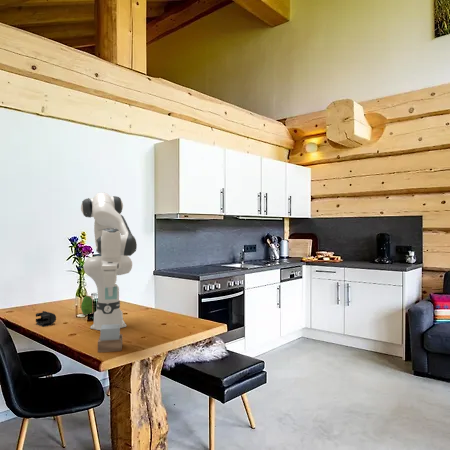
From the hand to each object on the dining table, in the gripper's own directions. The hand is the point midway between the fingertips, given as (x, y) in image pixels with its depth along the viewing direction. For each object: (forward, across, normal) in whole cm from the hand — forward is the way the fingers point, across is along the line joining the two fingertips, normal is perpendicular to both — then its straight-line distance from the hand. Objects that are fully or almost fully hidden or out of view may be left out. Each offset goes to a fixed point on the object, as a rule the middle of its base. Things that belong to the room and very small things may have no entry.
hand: (111, 294), depth 178 cm
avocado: (+24, -73, -19) cm, 79 cm away
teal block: (+2, 0, 0) cm, 2 cm away
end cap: (+24, -53, -39) cm, 70 cm away
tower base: (+24, 0, 0) cm, 24 cm away
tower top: (+19, 0, 0) cm, 19 cm away
